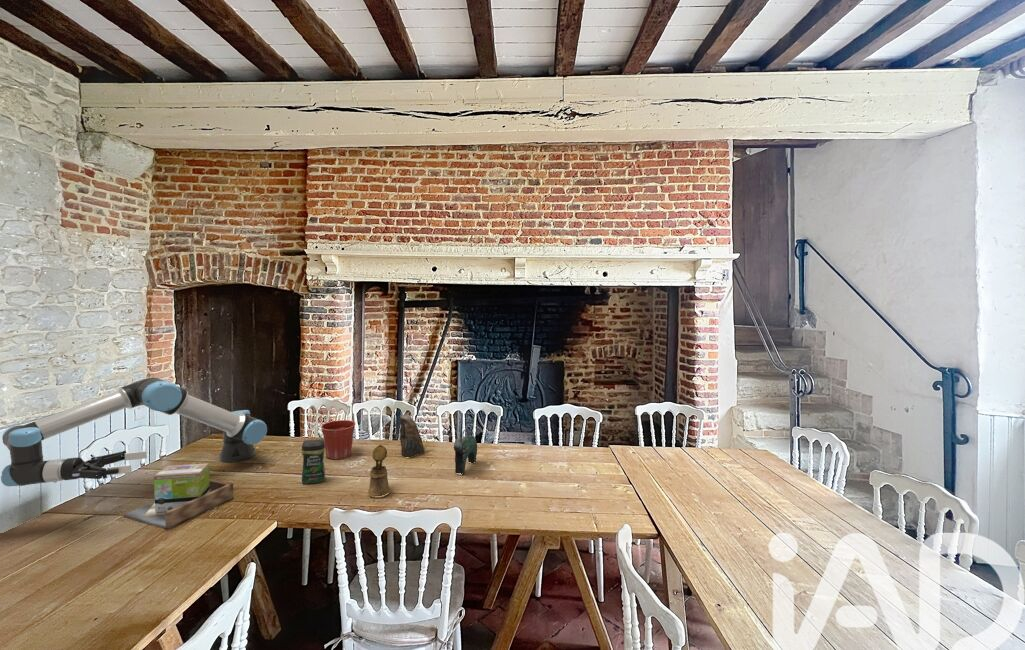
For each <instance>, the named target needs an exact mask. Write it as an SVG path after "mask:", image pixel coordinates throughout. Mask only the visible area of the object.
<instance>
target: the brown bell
mask: <svg viewBox="0 0 1025 650" xmlns="http://www.w3.org/2000/svg"><path fill="white" fill-rule="evenodd" d="M387 455H388V449H387V448H386V447H385V446H383V445H381V444H379V445H378V446H376V447H375V448H374V449H373V450H372V458H373V460H374V461H375V466H372V467H371V468H370V469H371V470H370V472H369V476H370V479H369V487H368V490H367V491H368V492H367V494H369V495H370V496H374V497H375V496H382V495H385V494H387V493H389V491H390V492H391V489H390V485H389V479H388V469H387V467H386V465H383V460H385V459H386V458H387ZM369 495H368V496H369Z"/></svg>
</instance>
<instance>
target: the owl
mask: <svg viewBox="0 0 1025 650" xmlns="http://www.w3.org/2000/svg"><path fill="white" fill-rule="evenodd" d="M399 424H400V428H399V438H398V440H399V442H400V447H401V448H400V449H401V450H400V451H401V453H402V454H401V455H402V456H404V457H403V458H405V457H411V456H414V457H416V456H418V455H417V454H420V455H422V454H424V453H423V452H425V448H424V447H425V446H424V444H423V439H422V437H421V434H420V431H419V428H418V426H417V423H416V422H415V420H414V418H413V417H412V416H411V414H409V413H408V412H406V413H405V414H402V415H400V417H399ZM421 453H422V454H421ZM415 455H416V456H415ZM402 456H401V457H402ZM411 458H412V457H411Z"/></svg>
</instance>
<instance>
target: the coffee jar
mask: <svg viewBox="0 0 1025 650" xmlns="http://www.w3.org/2000/svg"><path fill="white" fill-rule="evenodd" d="M324 452H326V450H325V442H324V438H322V439H321V438H320V439H311V440H310V439H309V440H308V439H307V440H306V439H305V440H303V441H302V444H301V454H302V457H303V458H302V459H303V460H302V471H301V472H302V473H301V483H303V484H304V485H309V483H310V484H317V483H318V482H319V483H322V482H323V481H325V479H326V468H325V459H324V458H325V456H324V455H325V453H324Z"/></svg>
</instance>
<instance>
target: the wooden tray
mask: <svg viewBox="0 0 1025 650" xmlns="http://www.w3.org/2000/svg"><path fill="white" fill-rule="evenodd" d="M231 498H233V499H234V483H230V482H226V481H222V480H218V479H212V478H210V492H209V493H207V494H205V495H203V496H201V497H198V498H196V499H194V500H192V501H189V502H187V503H185V504H183V505H180V506H178V507H176V508H174V509H171V510H169V511H165V512H157V513H156V512H155V501H153V502H151V503H148V504H146V505H144V506H141V507H138V508H137V509H134V510H131V511H129V512H126V513H124V514H123V518H127V519H129V518H130V519H131V520H133V519H134V520H133V521H138V522H140V521H141V523H144V522H145V524H147V523H148V525H151V524H152V526H155V527H158V526H159V528H161V529H165V528H166V530H171V529H173V528H174V526H175V527H177V526H179V525H181V524H183V523H185V522H187V521H189V520H191V519H193V518H195V517H197V516H199V515H202V514H203V513H205V512H208V511H210V510H212V509H214V508H216V507H218V506H220V505H222V504H224V503H226V502H228V501H230V500H232V499H231ZM229 499H230V500H229ZM227 500H228V501H227ZM225 501H226V502H225ZM130 519H129V520H130ZM176 525H177V526H176ZM172 527H173V528H172ZM170 528H171V529H170Z"/></svg>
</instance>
